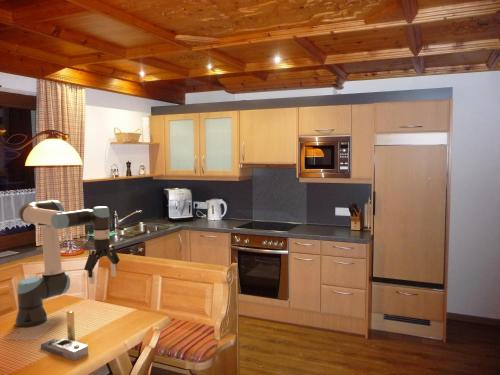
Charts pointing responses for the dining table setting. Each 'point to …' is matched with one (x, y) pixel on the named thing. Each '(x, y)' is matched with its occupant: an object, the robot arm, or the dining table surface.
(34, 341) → the dining table surface
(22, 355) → the dining table surface
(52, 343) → the riveted square sleeve
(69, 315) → the brass pin
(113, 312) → the dining table surface
